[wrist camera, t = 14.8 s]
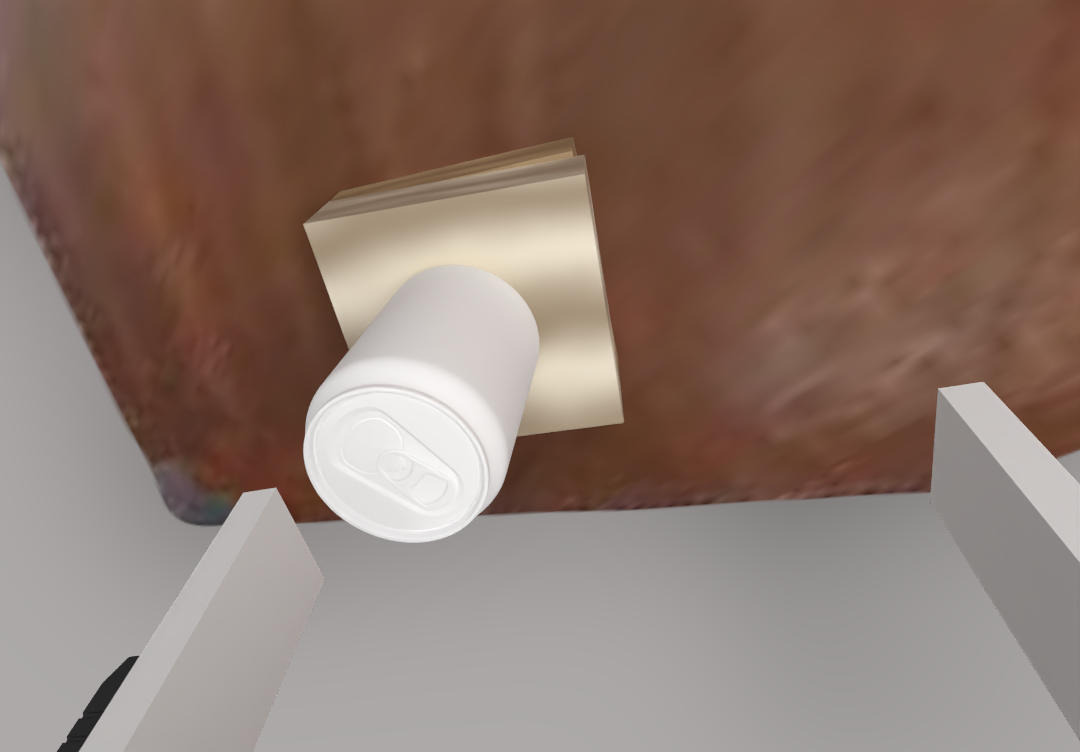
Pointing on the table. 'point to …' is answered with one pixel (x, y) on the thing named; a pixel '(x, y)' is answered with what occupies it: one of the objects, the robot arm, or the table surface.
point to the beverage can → (425, 407)
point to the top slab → (490, 271)
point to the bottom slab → (474, 171)
